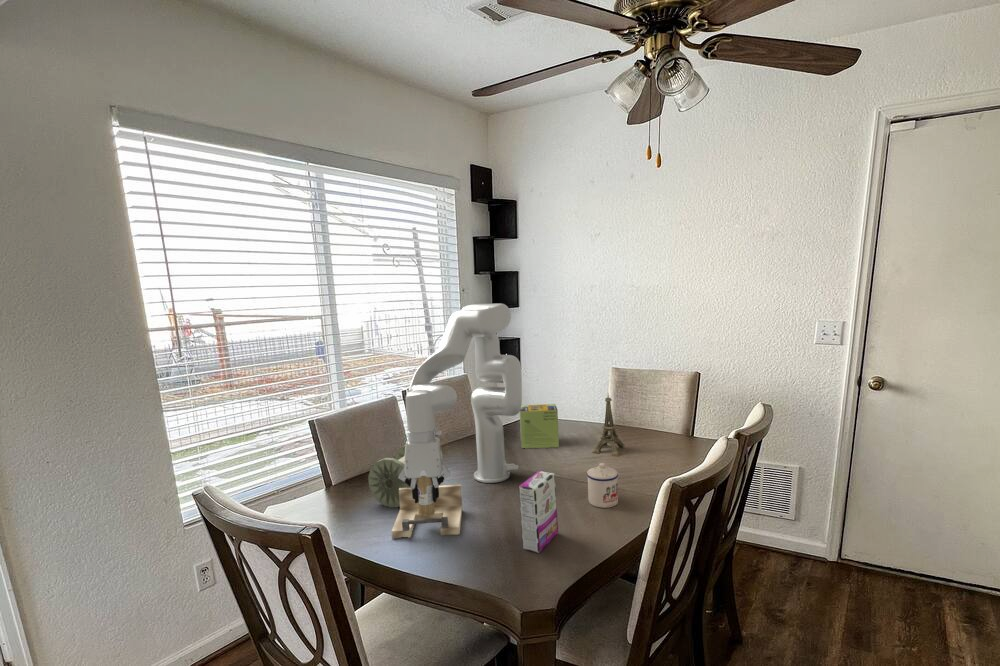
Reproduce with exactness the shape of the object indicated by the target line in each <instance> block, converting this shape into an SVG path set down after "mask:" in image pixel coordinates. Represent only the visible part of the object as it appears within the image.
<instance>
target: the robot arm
mask: <svg viewBox="0 0 1000 666" xmlns="http://www.w3.org/2000/svg"><path fill="white" fill-rule="evenodd" d="M511 316H512V314H511V311H510V308H509V306H508V305H506V304H505V303H501V302H500V303H497V302H496V303H475V304H473V303H472V304H468V305H464V306H463V307H462V308H461V310H460V309H459V310H456V311H455V312H453V313H451V315H450V317H449V319H448V322H447V324H446V327H445V330H444V333H443V334H442V338H441V341H440V344H439V346H438V349H437V350H436V351H435V352H434V353H433V354H431V355H430V356H429V357H428V358H427V359H426V360H425V361H423V362H422V363H421V364H420V365H419V366H418V368H417V369H416V371H415V372H414V373H413V377H412V378H411V381H410V385H409V387H408V391H407V393H406V395H405V397H404V398H405V411H406V412H405V413H406V414H405V415H406V425H407V426H406V427H407V440H405V441H406V442H405V445H406V446H405V466H404V468H403V470H402V471H401V473H400V474H399V476H398V478H399V479H400V480H402V481H404V482H405V483H406V484H407V485H409V486H410V488H411V489H412V497H413V499H415V503H418V489H417V488H418V485H417V484H416V482H417V478H421V477H423V476H420V473H421V471H423V470H424V471H425V472H426V474H427V476H425V477H428V478H431V477H432V481H433V502H436V500H437V498H439V486H441V484H442V483H443V482H444V481H445V480H446V479H447V478H448V477H450V476H451V471H450V470H449V468H448V467H447V466H446V465H445V464H444V460H443V451H442V445H441V442H440V441H441V440H440V438H439V436H442V430H439V429H437V427H436V419H435V418H436V417H435V415H436V414H440V413H445V412H448V411H449V412H450V410H452V409H453V408H454V407H455V405H456V404H457V401H458V395H457V391H456V390H455V388H453V387H452V386H450V385H446V384H432V383H431V382H432V381H433V379H434V378H436V376H438V375H439V374H441V373H442V372H445V371H447V370H450V369H452V368H454V367H456V366H458V365H460V364H462V363H463V362H464V361H465V359H466V357H467V352H468V349H469V346H470V344H471V341H472V339H473V342H474V369H475V377H476V379H477V380H478V381H480V382H483V383H491V384H492V383H493V384H494V383H495V384H503V385H504V386H494V385H493V386H491V385H484V386H478V387H477V388H474V390H473V391H472V393H471V396H470V403H471V404H470V405H471V409H472V413H473V417H474V423H475V425H474V426H475V438H476V439H475V441H476V443H475V444H476V456H477V457H476V459H477V470H476V471H474V473H473V479H475V481H478V482H479V483H485V484H496V483H500V482H503V481H506V480H508V479H509V478H510V476H511V472H518V471H519V465H518V464H517V465H516V464H515V463H508V462H507V460H506V457H505V455H506V454H505V439H504V437H505V436H504V434H505V433H504V425H503V422H502V419H501V417H500V416H503V417H514V416H517V415H519V414H520V409H521V406H523V405H522V403H523V393H522V392H523V389H522V388H523V387H522V385H523V383H522V382H523V381H522V377H523V374H522V373H523V372H522V365H521V361H520V360H519V358H517V357H516V355H515V356H514V355H513V354H512V355H511V354H501V350H500V349H501V348H500V339H499V335H498V333H500V332H502V331H504V330H505V329H507V328H508V326H509V325H510V323H511V318H512V317H511ZM442 473H443V474H442ZM411 478H412V479H411Z"/></svg>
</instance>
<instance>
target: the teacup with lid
mask: <svg viewBox="0 0 1000 666" xmlns="http://www.w3.org/2000/svg"><path fill="white" fill-rule="evenodd" d="M586 476H587V494H588V495H587V497H588V498H587V499H588V503H589V504H590V505H592V506H593V507H596V508H601V509H609V508H612V507H615V506H616V505H618V503H619V488H618V485H619V474H618V472H617V469H614V468H612V467H609V466H607V465H606V463H604V462H599V463H598V465H597V466H595V467H594V466H593V467H591V468H589V469H588V470H587V471H586Z"/></svg>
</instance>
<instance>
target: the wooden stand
mask: <svg viewBox="0 0 1000 666" xmlns="http://www.w3.org/2000/svg"><path fill="white" fill-rule="evenodd" d="M462 498H463V497H462V484H447V485H446V484H444V485H439V498H437V500H436V502H434V510H435V513H434V514H433V515H431V516H427V517H423V516H420V515H419V504H418V503H415V499H413V497H412V489H411V488H410V487H409V488H399V501H400V506H399V511H398V514H397V516H396V519H395V521H394V524H393V526H392V529H391V531H390V532H391V539H402V538H401V537H408V538H411V537H412V535H413V532H412V531H414V529H413V528H415V526H416V524H417V525H420V524H433V523H435V524H437V523H438V524H439V523H441V525H440V528H439V529H440V536H452V535H454V536H455V535H460V533H461V525H462V518H463V517H462V516H463V502H462V501H463V499H462Z"/></svg>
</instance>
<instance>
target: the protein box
mask: <svg viewBox="0 0 1000 666" xmlns="http://www.w3.org/2000/svg"><path fill="white" fill-rule="evenodd" d="M519 426H520V432H519V433H520V445H521V449H522V448H525V449H547V448H549V449H550V448H560V438H559V435H560V434H559V413H558V408H557V405H556V404H555V403H549V404H546V403H545V404H529V405H528V404H527V405H526V404H525V405H521V409H520V412H519Z"/></svg>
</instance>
